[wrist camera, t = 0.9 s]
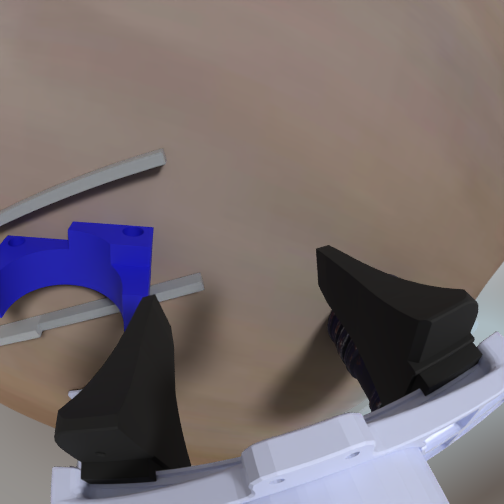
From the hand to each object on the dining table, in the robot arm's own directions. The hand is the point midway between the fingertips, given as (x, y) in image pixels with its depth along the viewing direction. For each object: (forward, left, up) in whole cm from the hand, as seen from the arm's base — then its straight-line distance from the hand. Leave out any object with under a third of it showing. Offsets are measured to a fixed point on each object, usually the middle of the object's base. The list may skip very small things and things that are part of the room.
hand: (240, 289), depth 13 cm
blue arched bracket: (0, +11, -10) cm, 15 cm away
